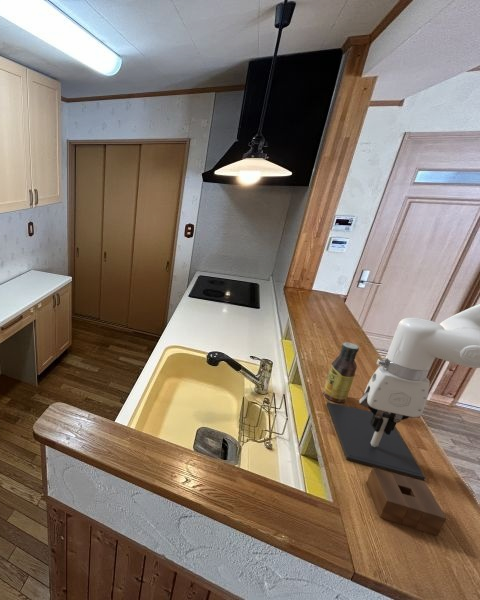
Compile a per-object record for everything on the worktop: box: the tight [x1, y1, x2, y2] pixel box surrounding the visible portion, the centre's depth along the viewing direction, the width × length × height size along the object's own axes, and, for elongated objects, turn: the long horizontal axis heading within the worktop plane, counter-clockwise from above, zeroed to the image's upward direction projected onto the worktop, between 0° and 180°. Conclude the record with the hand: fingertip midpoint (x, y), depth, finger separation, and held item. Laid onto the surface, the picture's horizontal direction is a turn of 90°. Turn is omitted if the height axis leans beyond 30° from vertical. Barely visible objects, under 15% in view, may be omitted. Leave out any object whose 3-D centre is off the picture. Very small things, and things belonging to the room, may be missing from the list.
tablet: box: [325, 401, 426, 482], centre depth 90 cm, size 15×24×1 cm, turn 154°
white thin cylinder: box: [371, 411, 391, 447], centre depth 84 cm, size 2×2×11 cm
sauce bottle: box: [323, 341, 360, 403], centre depth 103 cm, size 6×6×20 cm
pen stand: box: [365, 467, 448, 537], centre depth 70 cm, size 9×9×5 cm
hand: (380, 429), depth 83 cm, fingers closed on white thin cylinder, 1 cm apart
